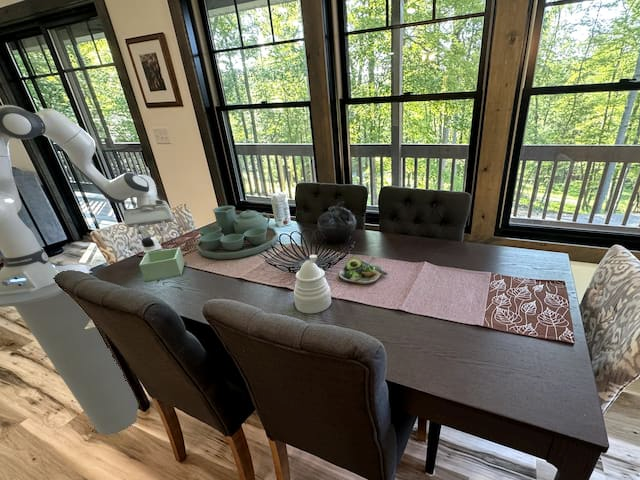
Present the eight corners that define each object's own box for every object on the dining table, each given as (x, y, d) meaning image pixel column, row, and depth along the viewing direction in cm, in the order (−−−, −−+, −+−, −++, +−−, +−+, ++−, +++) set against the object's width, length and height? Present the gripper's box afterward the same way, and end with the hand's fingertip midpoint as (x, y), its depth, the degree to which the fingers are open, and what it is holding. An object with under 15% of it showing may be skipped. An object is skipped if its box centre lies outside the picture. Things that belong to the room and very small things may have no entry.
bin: (145, 281, 131) (138, 265, 128) (152, 268, 143) (146, 252, 139) (181, 275, 135) (175, 258, 132) (184, 262, 147) (179, 247, 143)
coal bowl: (333, 250, 152) (330, 213, 143) (312, 239, 166) (308, 205, 157) (364, 239, 163) (363, 204, 154) (342, 230, 177) (340, 197, 168)
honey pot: (323, 290, 119) (318, 246, 111) (337, 306, 109) (333, 260, 101) (290, 299, 114) (283, 255, 106) (302, 317, 104) (295, 269, 96)
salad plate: (393, 268, 133) (393, 259, 130) (379, 289, 118) (379, 278, 116) (352, 262, 140) (351, 253, 138) (334, 281, 125) (333, 271, 123)
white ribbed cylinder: (292, 224, 189) (287, 193, 180) (278, 227, 185) (273, 195, 176) (287, 221, 195) (283, 191, 186) (274, 224, 191) (269, 193, 182)
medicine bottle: (149, 266, 144) (139, 242, 139) (148, 260, 150) (139, 237, 144) (166, 262, 148) (157, 238, 142) (165, 256, 153) (156, 234, 148)
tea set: (180, 256, 153) (170, 224, 146) (233, 228, 187) (227, 201, 179) (248, 264, 142) (240, 230, 134) (292, 233, 175) (287, 204, 168)
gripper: (120, 206, 146) (122, 232, 143) (168, 200, 153) (172, 225, 149) (126, 212, 152) (128, 238, 149) (173, 207, 158) (176, 231, 155)
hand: (151, 231), depth 149 cm, fingers open, 8 cm apart
